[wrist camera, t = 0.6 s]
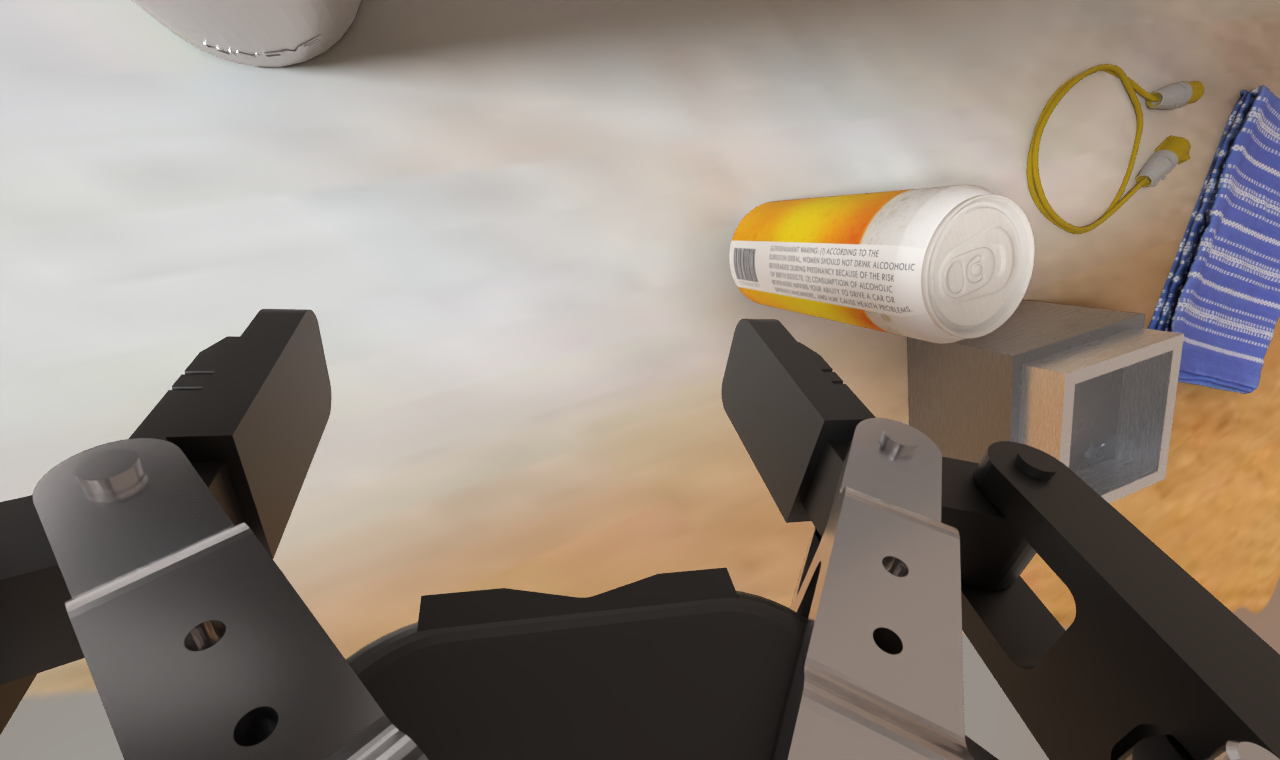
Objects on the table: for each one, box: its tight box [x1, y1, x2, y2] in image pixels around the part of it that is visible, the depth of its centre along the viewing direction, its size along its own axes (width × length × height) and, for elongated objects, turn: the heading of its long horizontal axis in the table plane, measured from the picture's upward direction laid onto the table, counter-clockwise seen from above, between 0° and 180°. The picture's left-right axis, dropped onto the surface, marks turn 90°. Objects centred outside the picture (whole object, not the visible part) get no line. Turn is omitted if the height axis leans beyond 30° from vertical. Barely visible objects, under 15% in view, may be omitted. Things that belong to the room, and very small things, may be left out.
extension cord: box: [1027, 64, 1204, 234], centre depth 42 cm, size 12×16×2 cm
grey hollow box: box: [907, 300, 1184, 503], centre depth 39 cm, size 15×11×10 cm
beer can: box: [729, 185, 1035, 344], centre depth 28 cm, size 6×6×15 cm
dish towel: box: [1148, 85, 1280, 394], centre depth 50 cm, size 17×24×3 cm
